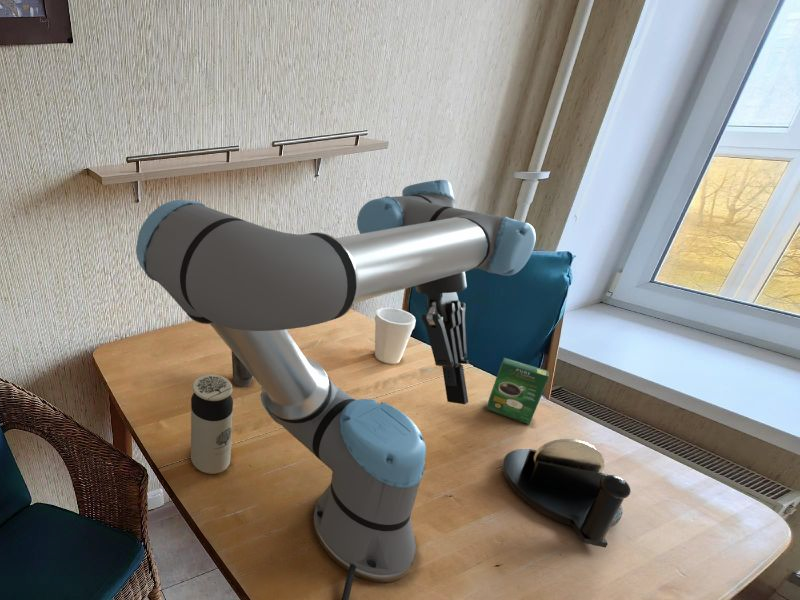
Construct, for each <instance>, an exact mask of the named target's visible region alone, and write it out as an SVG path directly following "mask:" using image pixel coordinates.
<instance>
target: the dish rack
mask: <svg viewBox="0 0 800 600" xmlns="http://www.w3.org/2000/svg"><path fill="white" fill-rule="evenodd" d="M501 465H502V472H503V475H504V477H505V479H506V481H507V482H508V483H509V484H511V485H510V486H511V487H513V488H514V489H515V490H516V491H517V492H518V493H519V494H520V495H521V496H522V497H524V498H525V499H526V500H527V501H529V502H530V503H531V504H533V505H534V506H536V507H537V508H539V509H541V510H542V511H544V512H546V513H548V514H550V515H552V516H554V517H556V518H558V519H560V520H563V521H565V522H568V523H571V525H572V526H571V525H570V526H571V527H572V528H573V529H574V531H575V533H576V534H577V536H578V538H579V539H580V541H581V543H584V544H588V545H592V546H596V547H600V548H607V546H608V544H609V543H608V541H607V540H606V538H605V537H606V536H607V534H608V531H609V529H610V528H611V527H614V526H616V525H617V524H618V523H619V521H620V520H621V518H622V515H623V507H622V504H623V502H624V500H625V499H627V498H628V497H629V496H630V495H631V492H632V491H631V487H630V485H629V483H628V482H627V481H626V480H625V479H624V478H622V477H620V476H617V475H614V474H608V473H603V471H604V468H605V458H604V456H603V455H602V453H601V452H600V451H599V450H598V449H597V448H596V447H595V446H594V445H592V444H590V443H588V442H585V441H582V440H580V439H573V438H560V439H555V440H551V441H548V442H546V443H544V444H542V445H540V446H539V448H538V449H532V448H520V449H514V450H511V451H510V452H508V453H507V454H505V456H504V457H503V461H502V464H501ZM513 488H512V489H513ZM514 489H513V490H514ZM515 490H514V491H515ZM516 491H515V492H516Z"/></svg>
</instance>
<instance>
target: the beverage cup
mask: <svg viewBox="0 0 800 600" xmlns="http://www.w3.org/2000/svg"><path fill="white" fill-rule="evenodd" d="M230 351H231V365H232V377H233V383H234V385H236V386H238V387H243V388H246V387H249V386H250V385H251V384H252V379H253V376H252V374H251V373H250V372H249V371H248V370H247V368H246V367H245V366H244V365H243V364H242V362H241V361H240V360H239V359H238V358H237V356H236V355H235V354H234V353H233V352H232V350H231V349H230Z"/></svg>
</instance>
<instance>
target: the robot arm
mask: <svg viewBox="0 0 800 600" xmlns="http://www.w3.org/2000/svg"><path fill="white" fill-rule="evenodd" d="M401 193H402V194H401V196H388V195H386V196H382V197H379V198H374V199H371V200H369V201H367V202H366V203H364V204H363V206H362V207H361V208H360V210H359V212H358V215H357V220H356V225H357V231H358V232H359V233H357V234H351V235H347V236H340V237H335V236H333V235H330V234H328V233H325V232H309V233H300V234H296V233H290V232H283V231H280V230H275V229H271V228H268V227H265V226H261V225H259V224H257V223H253V222H250V221H247V220H245V219H242V218H239V217H236V216H233V215H231V214H228V213H226V212H222V211H220V210H217V209H214V208H211V207H209V206H206V205H205V204H204V203H203V202H200V201H196V200H187V199H175V200H170V201H167V202H165V203H163V204H161V205H160V206H158V207H157V208H155V209H154V210H153V211H152V212H151V213H150V214H149V215H148V216H147V218H146V219H145V220H144V221H143V223H142V225H141V227H140V229H139V232H138V234H137V241H136V245H135V252H136V259H137V262H138V265H139V266H140V268H141V269H142V271H143V272H144V273H145V275H146V276H147V277H148V278H149V279H150V280H152V281H155V282H157V283H158V284H159V285H160V286H161V287H162V288H163V289H164V290H165V291H166V292H167V293H168V294H169V295H170V296H171V298H172V299H173V300H174V301H175V302H176V304H178V306H179V307H180V308H181V309H182V311H183V312H185V314H186V315H187V316H188V317H189V318H190V319H191V320H192V321H194V322H197V323H198V324H203V325H210V326H211V328H212V329H213V330H214V331H215V332H216V333H217V335H218V336H219V337H220V339H222V341H223V342H224V343H225V345H227V347H228V348H229V349H230V351H231V350H232V351H231V353H232V352H233V353H234V354H235V355H236V356H237V358H238V359H239V360H240V361H241V362H242V364H243V365H244V366H245V367H246V368H247V370H248V371H249V372H250V373H251V374H252V378H254V379H255V380H256V382H257V383H258V384H259V385H260V390H261V393H260V401H261V404H262V407H263V408H264V410H265V411H266V412H267V414H268V415H269V417H270V418H271V419H272V420H273V421H274V422H276V423H277V424H278V425H280V426H281V427H283V429H285V430H286V431H287V432H288V433H289V434H290V435H292V436H293V437H294V438H295V439H296V440H297V441H298V442H299V443H301V445H303V446H304V447H305V448H306V449H308V450H309V452H311V453H312V454H313V455H314V456H315V457H316V458H317V459H318V460H319V461H321V462H322V463H323V464H324V465H325V466H326V467H327V468H328V469H329V470H330V471H331V472H332V474H331V481H330V483H329V485H328V486H327V487H326V489H325V490H324V492H323V493H321V495H320V496H319V498H318V500H317V502H316V504H315V507H314V511H313V528H314V532H315V536H316V538H317V541H318V542H319V544H320V546H321V547H322V549H323V550H324V551H325V553H326V554H327V555H328V556H329V558H331V560H333V562H335V563H336V564H337V565H338V566H340V568H342V569H343V570H345V571H347V575H346V579H345V583H344V587H343V593H342V596H341V600H349V599H350V595H351V590H352V585H353V581H354V578H355V577H358V578H360V579H363V580H366V581H370V582H375V583H392V582H396V581H398V580H400V579H402V578H404V577H405V576H406V575H408V573H410V570H411V569H412V567H413V565H414V561H415V557H416V553H417V546H416V545H417V544H416V537H415V534H414V529H413V523H412V518H411V517H412V512H413V510H414V505H415V501H416V498H417V495H418V492H419V491H418V490H419V488H420V483H421V480H422V479H423V477H424V474H425V473H424V472H425V469H426V465H425V463H426V455H427V445H426V444H425V441H424V440H425V439H424V436H423V434H422V432H421V431H420V429H419V428H418V426H417V425H416V423H415V422H414V421H413V420H412V419H411V418H410V417H409V416H407V415H406V414H405V413H404V412H402V411H401V410H400V409H398V408H397V407H394V406H393V405H390V404H389V403H386V402H383V401H382V402H380V403H378V402H377V400H376V399H371V398H359V399H355V398H354V397H353V396H351V394H348V393H347V392H345V391H344V390H342V389H341V388H339V387H338V386H337V385H336V384H335V383H334V382H333V381H332V380H331V378H330V375H328V373H327V372H326V370H325V369H324V367H323V366H322V365H321V364H320V363H319V362H318V361H316V360H314V359H312V358H310V357H307V356H305V355H304V354H303V352H302V351H301V349H300V347H299V346H298V345H297V343H296V342H295V340H294V338H293V337H292V335H291V334H290V332H289V331H288V330H295V329H300V328H307V327H311V326H315V325H321V324H325V323H328V322H330V321H333V320H337V319H339V318H341V317H343V316H345V315H346V314H347V313H348V312H350V310H351V309H352V308H353V306H354V304H356V303H360V302H364V301H367V300H370V299H374V298H377V297H378V298H379V297H381V296H384V295H388V294H391V293H395V292H399V291H401V290H406V289H408V288H409V289H410V288H412V287H415V291H416V292H417V293H419V294H424V295H426V296H427V297H426V298H427V299H426V300H427V301H426V310H427V313H422V314H421V321H422V322H423V325H424V327H425V329H426V332H427V333H426V334H427V337H428V340H429V341H428V342H429V344H430V348H431V351H432V356H433V359H434V365H435V366H437V367H442V368H441V369H442V376H443V381H444V387H445V394H446V400H447V401H446V402H447V403H454V404H458V405H459V404H460V405H467V403H469V397H468V392H467V385H466V384H467V383H466V377H465V371H464V365H469V363H470V360H469V359H466V358H467V357H468V351H467V349H468V348H467V335H466V334H467V333H466V331H467V330H466V302H461V301H460V300H459V296H458V292H462V291H465V290H466V289H467V287H468V285H467V277H466V272H468V271H472V270H476V269H479V270H482V271H485V272H486V273H489V274H497V275H501V276H506V277H510V276H514V275H516V274H517V273H519V272H520V271H521V270H522V269H523V268H524V267H525V265H526V264H527V263H528V261H529V260H530V258H531V256H532V254H533V251H534V249H535V244H536V239H537V235H536V230H535V228H534V226H532V225H531V224H530V223H529V222H526V221H521V220H518V219H514V218H511V217H508V216H505V215H504V216H500V215H493V214H489V213H483V212H478V211H473V210H468V209H463V208H457V207H456V198H455V196H454V191H453V188H452V184H451V182H450V181H449V180H446V179H437V180H429V181H424V182H419V183H414V184H410V185H407V186H405V187H404V188H403V189H402V191H401Z"/></svg>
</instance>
